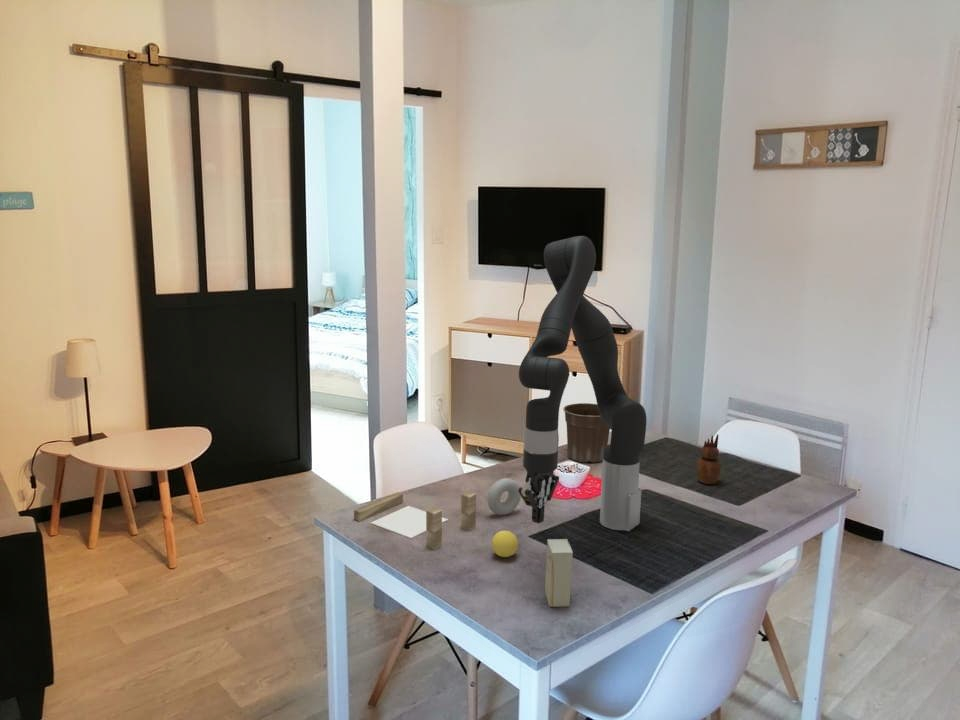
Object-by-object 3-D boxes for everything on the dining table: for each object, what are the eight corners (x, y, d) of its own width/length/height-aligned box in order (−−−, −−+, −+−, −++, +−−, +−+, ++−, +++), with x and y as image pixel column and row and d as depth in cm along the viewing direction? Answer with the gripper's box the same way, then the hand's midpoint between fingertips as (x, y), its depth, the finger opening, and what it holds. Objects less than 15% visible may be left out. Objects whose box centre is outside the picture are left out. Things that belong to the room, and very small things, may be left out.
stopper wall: (402, 502, 204) (402, 493, 204) (359, 521, 192) (359, 512, 191) (397, 500, 205) (397, 492, 205) (354, 519, 193) (353, 510, 192)
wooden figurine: (721, 481, 222) (725, 433, 219) (716, 487, 218) (720, 438, 214) (698, 477, 226) (702, 429, 223) (693, 483, 221) (696, 434, 218)
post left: (441, 545, 179) (441, 510, 177) (434, 549, 177) (434, 513, 175) (433, 542, 180) (433, 507, 178) (426, 546, 178) (426, 511, 176)
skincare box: (544, 592, 158) (546, 538, 156) (565, 591, 158) (567, 538, 156) (549, 608, 152) (551, 552, 149) (571, 607, 152) (573, 551, 150)
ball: (522, 554, 175) (523, 530, 173) (507, 564, 170) (508, 539, 169) (501, 547, 178) (502, 524, 177) (486, 556, 174) (486, 532, 172)
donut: (491, 520, 193) (492, 484, 191) (484, 516, 196) (484, 480, 194) (523, 512, 198) (524, 477, 196) (515, 508, 201) (516, 473, 199)
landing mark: (448, 520, 193) (448, 519, 193) (411, 538, 182) (411, 537, 182) (408, 506, 202) (408, 505, 202) (370, 523, 191) (370, 522, 191)
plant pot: (576, 446, 254) (578, 399, 250) (620, 455, 245) (623, 407, 241) (552, 458, 241) (554, 410, 237) (598, 469, 232) (600, 419, 228)
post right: (475, 527, 189) (476, 494, 187) (469, 531, 187) (469, 497, 185) (467, 524, 190) (467, 491, 189) (461, 528, 188) (461, 494, 187)
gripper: (543, 436, 170) (540, 508, 174) (508, 450, 160) (506, 526, 164) (571, 443, 166) (568, 517, 169) (538, 458, 156) (534, 536, 159)
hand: (537, 521), depth 166 cm, fingers closed
